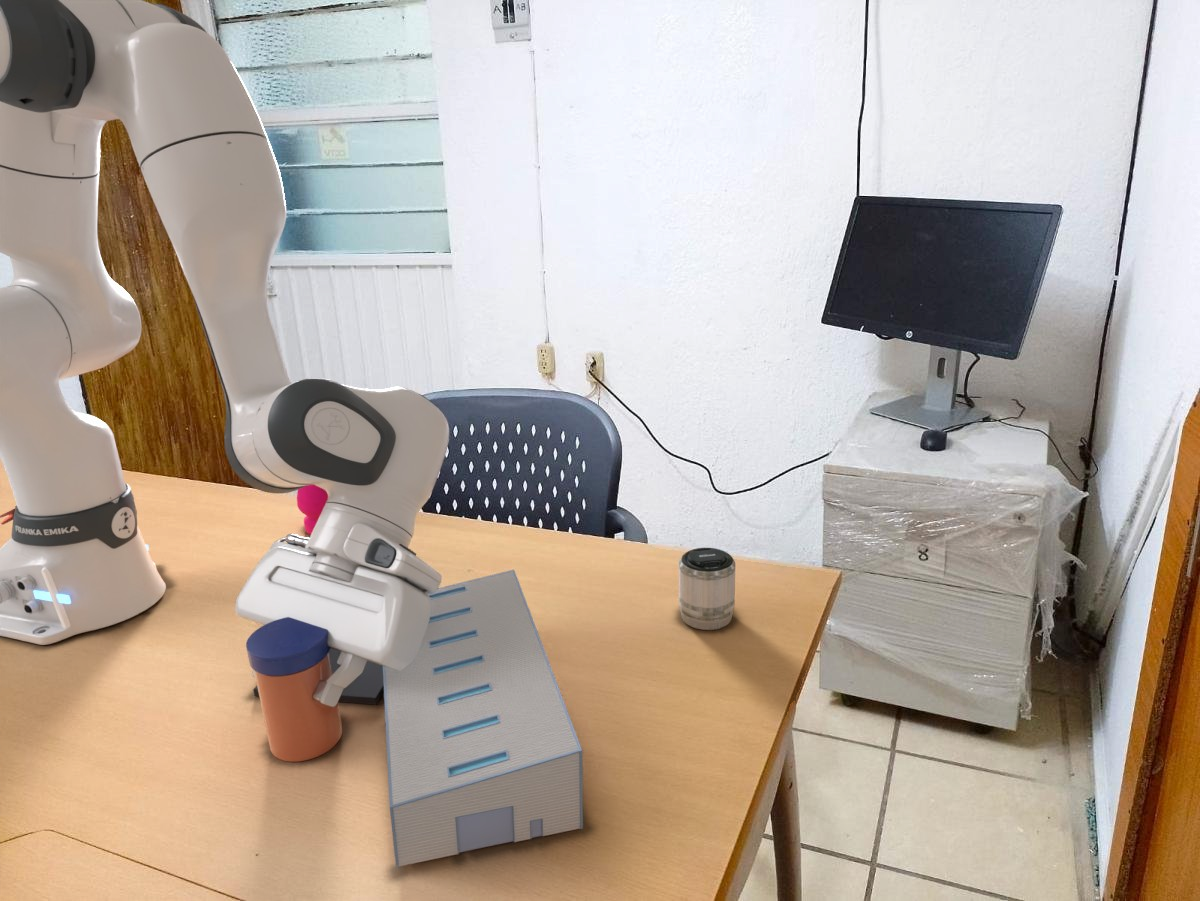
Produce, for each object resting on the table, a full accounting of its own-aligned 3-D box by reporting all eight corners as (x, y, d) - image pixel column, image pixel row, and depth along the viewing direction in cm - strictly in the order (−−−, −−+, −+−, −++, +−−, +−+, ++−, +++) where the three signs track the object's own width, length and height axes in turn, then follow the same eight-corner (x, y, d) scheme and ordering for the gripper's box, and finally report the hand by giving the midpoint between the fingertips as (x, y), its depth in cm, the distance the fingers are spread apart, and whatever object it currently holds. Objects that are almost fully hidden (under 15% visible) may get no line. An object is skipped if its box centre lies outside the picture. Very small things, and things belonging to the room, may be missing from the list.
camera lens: (742, 627, 92) (744, 564, 89) (688, 635, 91) (688, 571, 88) (723, 600, 98) (724, 539, 95) (672, 607, 97) (671, 546, 94)
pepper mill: (338, 538, 118) (317, 403, 111) (292, 536, 119) (268, 402, 112) (361, 518, 124) (343, 389, 118) (317, 515, 126) (297, 388, 119)
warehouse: (384, 649, 89) (377, 586, 86) (516, 629, 92) (514, 569, 90) (396, 868, 62) (387, 786, 59) (583, 828, 65) (582, 750, 63)
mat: (254, 696, 83) (252, 689, 83) (315, 627, 95) (314, 621, 95) (376, 704, 81) (375, 698, 81) (423, 633, 93) (422, 627, 93)
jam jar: (256, 759, 74) (234, 658, 71) (292, 714, 80) (273, 618, 77) (323, 764, 73) (304, 662, 70) (354, 718, 79) (338, 622, 76)
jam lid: (233, 673, 71) (229, 655, 70) (274, 630, 77) (271, 613, 77) (308, 678, 70) (305, 659, 69) (344, 634, 76) (341, 617, 76)
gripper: (258, 518, 81) (190, 654, 77) (419, 558, 72) (353, 716, 67) (301, 541, 87) (239, 670, 82) (456, 581, 77) (397, 730, 72)
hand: (292, 692), depth 74 cm, fingers closed on jam jar, 6 cm apart
